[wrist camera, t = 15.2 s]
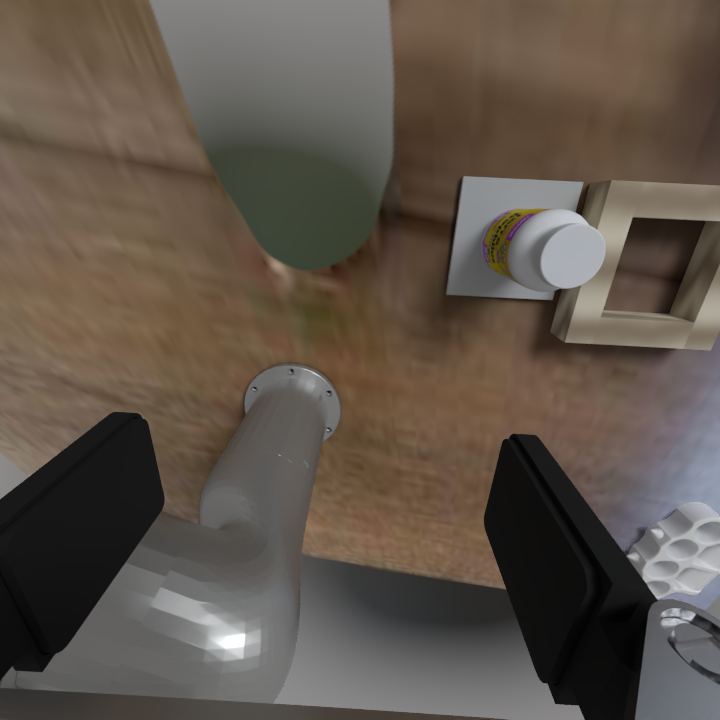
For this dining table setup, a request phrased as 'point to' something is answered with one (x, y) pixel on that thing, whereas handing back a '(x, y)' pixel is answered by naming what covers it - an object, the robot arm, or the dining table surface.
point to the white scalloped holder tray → (679, 551)
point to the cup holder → (612, 219)
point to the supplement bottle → (543, 248)
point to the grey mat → (476, 213)
